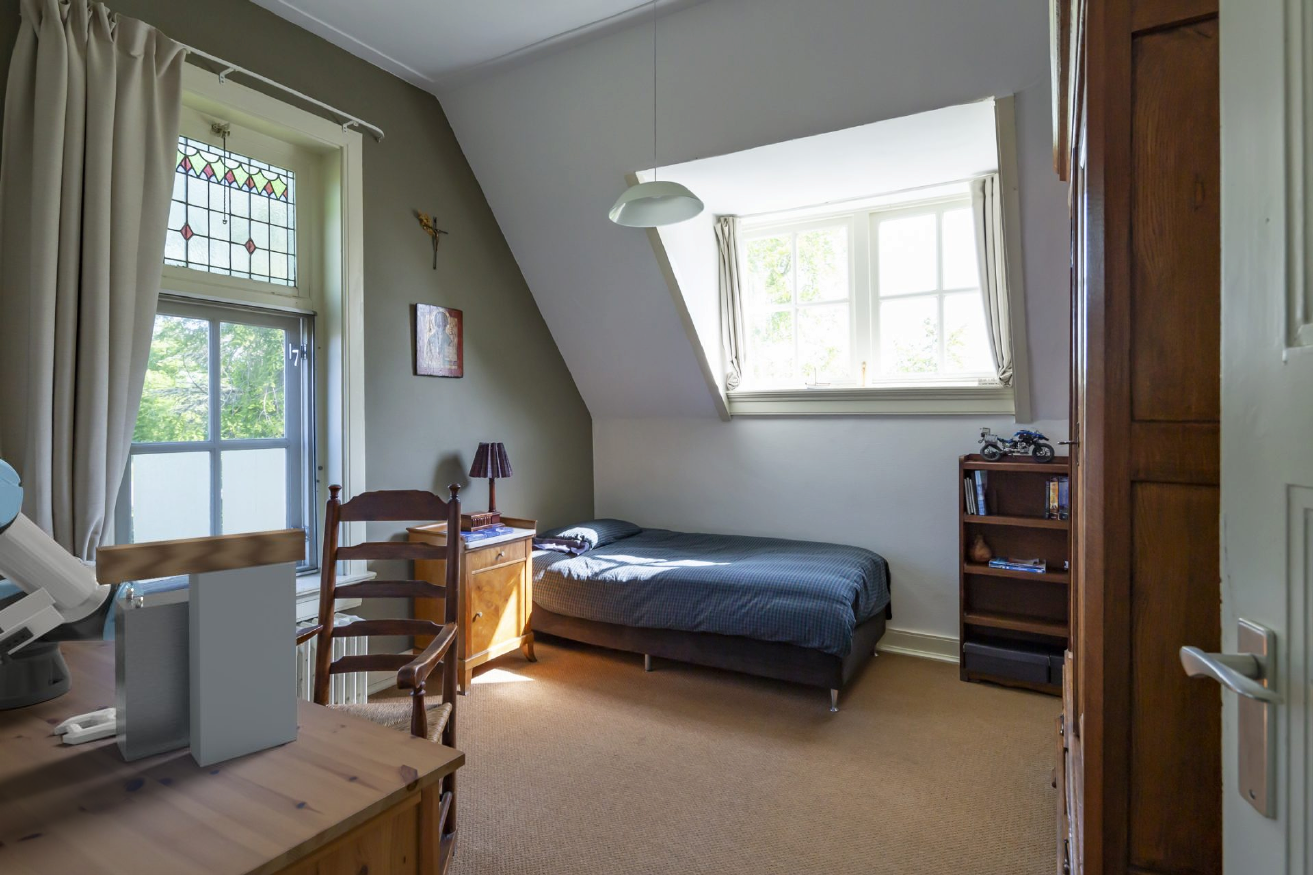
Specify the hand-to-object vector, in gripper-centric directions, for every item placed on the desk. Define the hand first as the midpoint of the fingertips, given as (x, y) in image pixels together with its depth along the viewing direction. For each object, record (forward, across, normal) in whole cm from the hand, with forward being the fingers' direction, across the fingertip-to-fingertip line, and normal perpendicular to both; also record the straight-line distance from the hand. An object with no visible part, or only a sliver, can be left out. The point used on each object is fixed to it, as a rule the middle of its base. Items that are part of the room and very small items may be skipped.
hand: (53, 603), depth 101 cm
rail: (+17, 0, -8) cm, 19 cm away
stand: (+7, 0, -36) cm, 37 cm away
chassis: (0, -12, -33) cm, 35 cm away
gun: (-5, -24, -30) cm, 39 cm away
